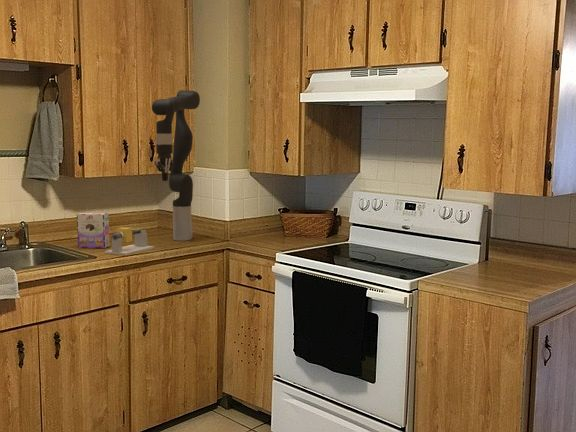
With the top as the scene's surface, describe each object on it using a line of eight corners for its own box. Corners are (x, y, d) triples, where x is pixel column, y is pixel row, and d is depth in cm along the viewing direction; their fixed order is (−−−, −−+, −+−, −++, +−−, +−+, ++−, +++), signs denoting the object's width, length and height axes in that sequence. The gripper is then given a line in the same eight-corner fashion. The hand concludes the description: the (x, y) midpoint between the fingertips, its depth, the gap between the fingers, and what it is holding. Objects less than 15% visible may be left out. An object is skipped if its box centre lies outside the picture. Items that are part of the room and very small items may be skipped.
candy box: (110, 246, 330) (109, 212, 328) (104, 248, 324) (103, 214, 322) (83, 245, 333) (82, 211, 331) (77, 247, 327) (76, 213, 325)
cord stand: (133, 246, 332) (133, 226, 330) (153, 248, 326) (153, 228, 325) (105, 253, 314) (104, 232, 313) (125, 255, 308) (125, 234, 307)
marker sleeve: (123, 240, 319) (123, 227, 319) (132, 240, 317) (131, 228, 316) (117, 241, 316) (117, 228, 315) (126, 242, 313) (126, 229, 313)
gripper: (166, 143, 328) (167, 179, 330) (148, 143, 316) (149, 181, 318) (179, 143, 324) (180, 180, 326) (162, 143, 312) (162, 182, 315)
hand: (165, 180), depth 322 cm, fingers closed
